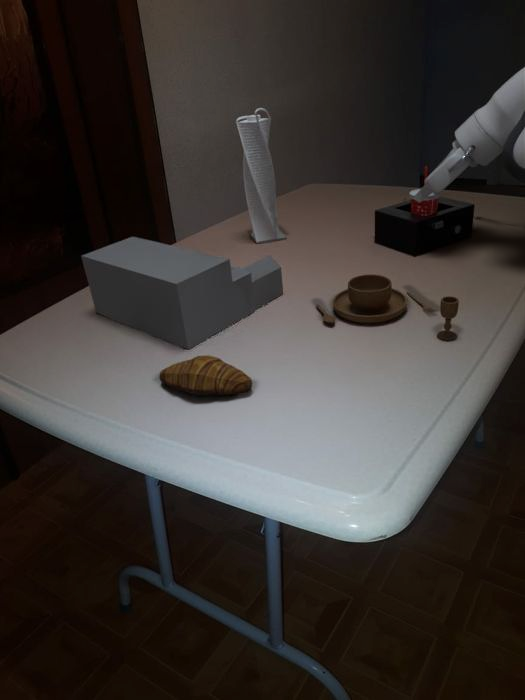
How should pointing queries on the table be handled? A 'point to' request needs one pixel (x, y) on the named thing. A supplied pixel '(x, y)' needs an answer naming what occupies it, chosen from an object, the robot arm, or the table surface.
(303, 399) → the table surface
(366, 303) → the place setting
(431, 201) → the beverage cup
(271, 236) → the skyscraper
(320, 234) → the table surface
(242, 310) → the grey stepped block
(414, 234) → the black open top box
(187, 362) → the croissant
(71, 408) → the table surface
